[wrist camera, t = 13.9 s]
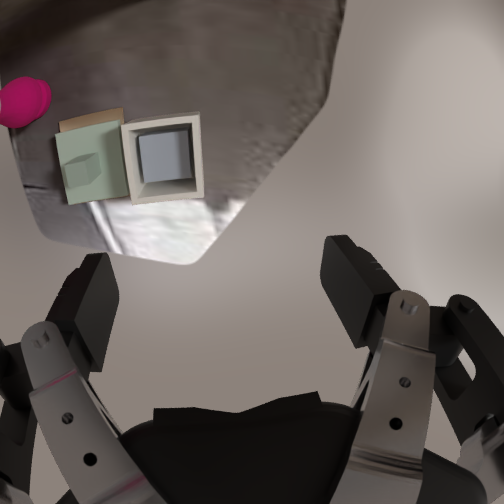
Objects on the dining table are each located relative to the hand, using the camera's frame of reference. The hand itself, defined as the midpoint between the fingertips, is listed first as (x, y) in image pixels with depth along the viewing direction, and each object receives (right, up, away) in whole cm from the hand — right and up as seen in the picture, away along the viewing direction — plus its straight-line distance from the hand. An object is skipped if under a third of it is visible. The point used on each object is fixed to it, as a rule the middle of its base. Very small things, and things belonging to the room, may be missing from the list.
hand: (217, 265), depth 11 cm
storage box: (-10, +15, +27) cm, 32 cm away
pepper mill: (-30, +23, +19) cm, 42 cm away
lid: (-21, +13, +25) cm, 36 cm away
